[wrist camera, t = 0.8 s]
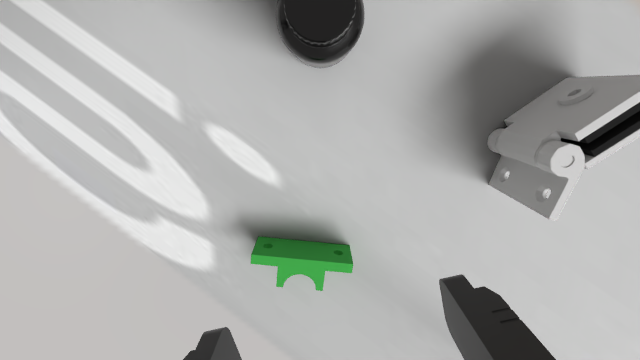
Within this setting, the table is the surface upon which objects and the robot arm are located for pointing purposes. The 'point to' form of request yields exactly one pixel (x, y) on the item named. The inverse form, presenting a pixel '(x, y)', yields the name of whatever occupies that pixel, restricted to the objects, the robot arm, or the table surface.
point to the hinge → (564, 138)
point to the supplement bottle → (320, 29)
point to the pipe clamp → (302, 258)
